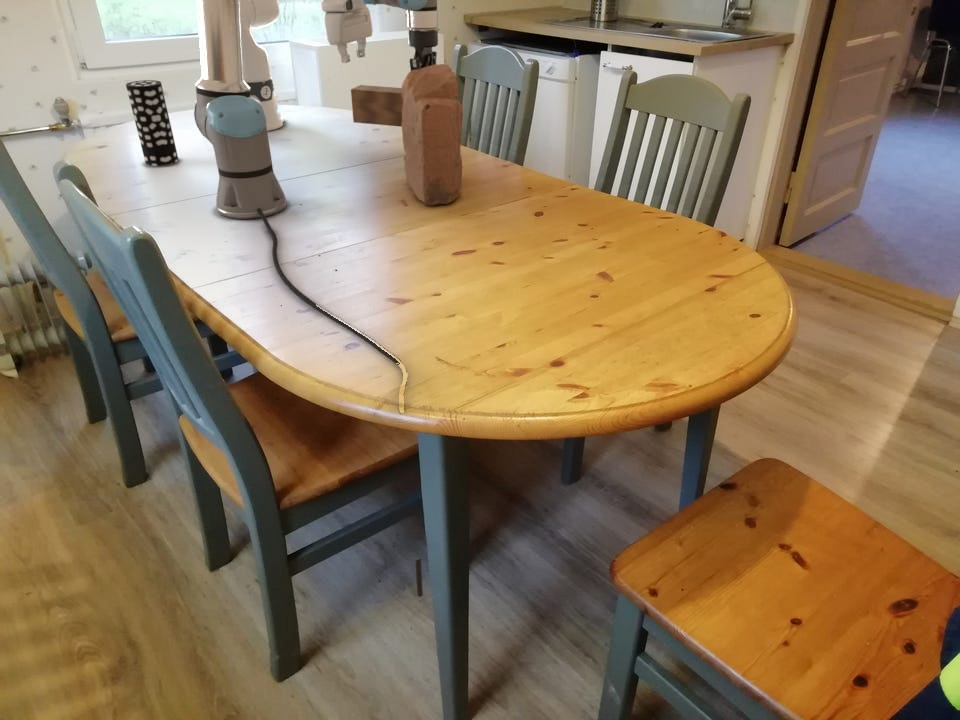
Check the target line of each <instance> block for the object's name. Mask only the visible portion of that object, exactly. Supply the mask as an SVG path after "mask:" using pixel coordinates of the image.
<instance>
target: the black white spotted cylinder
mask: <svg viewBox="0 0 960 720" xmlns="http://www.w3.org/2000/svg"><path fill="white" fill-rule="evenodd" d="M125 87H126V91H127V95H128V99H129V103H130V107H131V110H132V115H133V118H134V122H135V123H134V124H135V127H136V130H137V134H138V139H139V143H140V146H141V150H142V155H143V158H144V163H145V164H146V165H147V166H151V167H164V166H170V165H174V164H176V163H178V162H179V155H178V150H177V146H176V142H175V137H174V133H173V128H172V125H171V121H170V116H169V111H168V107H167V103H166V98H165V93H164V89H163V84H162V81H161V80H155V79H154V80H153V79H151V80H150V79H145V80H144V79H141V80H134V81H130V82H129V81H128V82H127V83H126V84H125Z"/></svg>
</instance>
